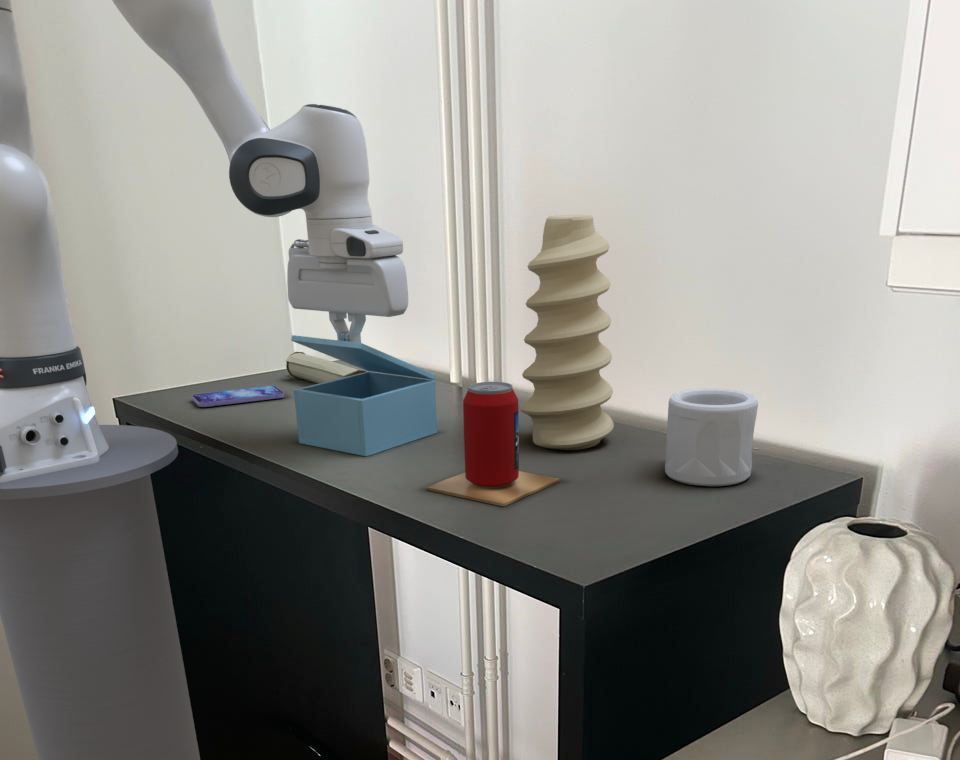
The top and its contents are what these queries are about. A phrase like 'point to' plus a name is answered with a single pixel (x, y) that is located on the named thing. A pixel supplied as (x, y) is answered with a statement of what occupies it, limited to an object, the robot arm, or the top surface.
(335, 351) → the lid
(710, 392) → the mug
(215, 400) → the smartphone
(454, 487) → the cork mat
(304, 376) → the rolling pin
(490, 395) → the beverage can
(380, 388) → the box
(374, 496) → the top surface
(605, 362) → the decorative object
